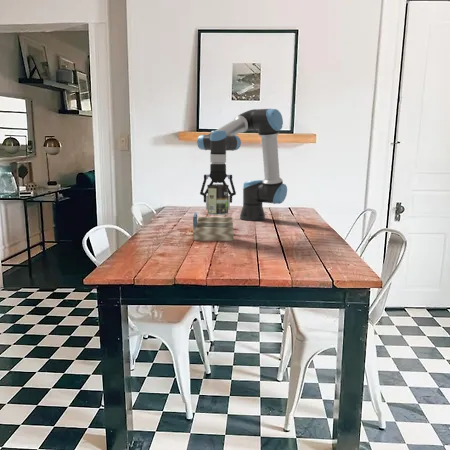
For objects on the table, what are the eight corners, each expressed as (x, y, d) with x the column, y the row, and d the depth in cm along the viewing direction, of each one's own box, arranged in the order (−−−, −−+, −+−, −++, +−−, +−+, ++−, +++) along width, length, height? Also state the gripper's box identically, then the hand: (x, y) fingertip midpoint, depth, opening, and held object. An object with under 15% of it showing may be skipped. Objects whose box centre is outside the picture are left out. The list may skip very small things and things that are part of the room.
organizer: (232, 228, 254) (232, 207, 252) (233, 240, 223) (233, 217, 221) (196, 227, 253) (196, 207, 251) (193, 240, 222) (192, 217, 220)
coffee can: (230, 212, 232) (230, 184, 230) (226, 215, 222) (226, 186, 220) (209, 211, 234) (210, 183, 232) (204, 215, 224) (205, 185, 222)
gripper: (241, 163, 228) (240, 208, 232) (195, 162, 228) (195, 208, 232) (242, 163, 220) (241, 210, 224) (194, 163, 220) (194, 210, 224)
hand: (217, 209), depth 228 cm, fingers closed on coffee can, 10 cm apart
